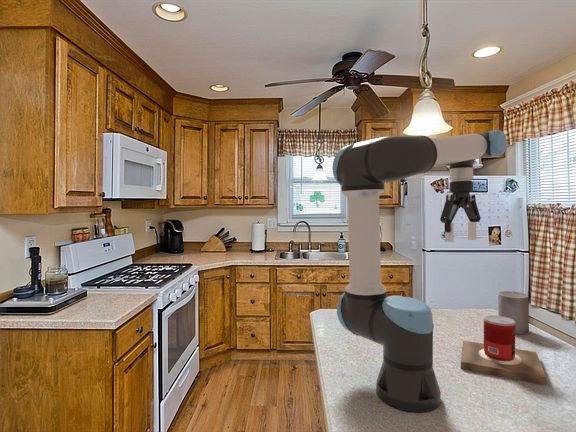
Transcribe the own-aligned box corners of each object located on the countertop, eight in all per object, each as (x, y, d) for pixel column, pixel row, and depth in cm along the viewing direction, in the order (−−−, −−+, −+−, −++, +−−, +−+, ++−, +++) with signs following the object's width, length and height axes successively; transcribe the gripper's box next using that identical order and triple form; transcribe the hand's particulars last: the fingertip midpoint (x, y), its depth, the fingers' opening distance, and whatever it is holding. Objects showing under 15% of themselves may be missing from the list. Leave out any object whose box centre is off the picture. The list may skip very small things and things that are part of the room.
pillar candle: (514, 325, 136) (514, 287, 136) (535, 333, 126) (535, 293, 126) (492, 326, 135) (491, 288, 134) (511, 335, 125) (511, 294, 125)
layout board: (460, 368, 100) (460, 360, 100) (463, 346, 115) (463, 339, 115) (546, 384, 90) (546, 376, 90) (536, 358, 106) (536, 351, 106)
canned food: (519, 362, 98) (519, 324, 98) (488, 360, 100) (488, 322, 99) (509, 351, 105) (509, 315, 105) (480, 349, 107) (480, 314, 107)
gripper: (471, 182, 131) (471, 238, 132) (429, 180, 118) (429, 242, 119) (491, 181, 125) (491, 239, 125) (449, 178, 112) (449, 243, 112)
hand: (460, 240), depth 122 cm, fingers open, 13 cm apart
